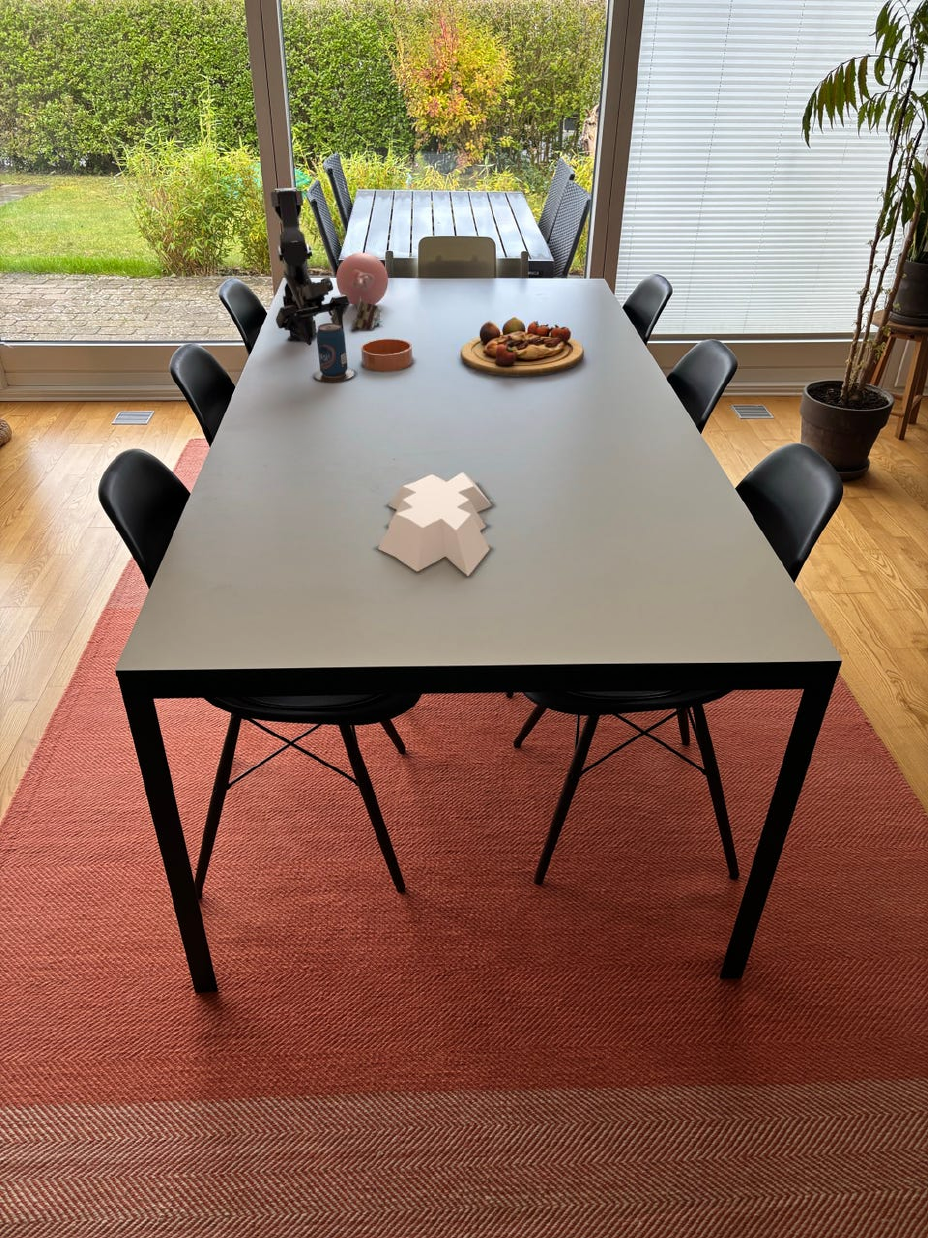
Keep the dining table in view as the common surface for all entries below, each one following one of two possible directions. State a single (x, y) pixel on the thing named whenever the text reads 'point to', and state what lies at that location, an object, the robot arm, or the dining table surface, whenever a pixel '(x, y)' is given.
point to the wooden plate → (522, 349)
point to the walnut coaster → (322, 378)
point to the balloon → (362, 278)
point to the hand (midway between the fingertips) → (326, 340)
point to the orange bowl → (386, 354)
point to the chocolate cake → (366, 316)
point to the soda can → (332, 350)
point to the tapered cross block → (437, 523)
